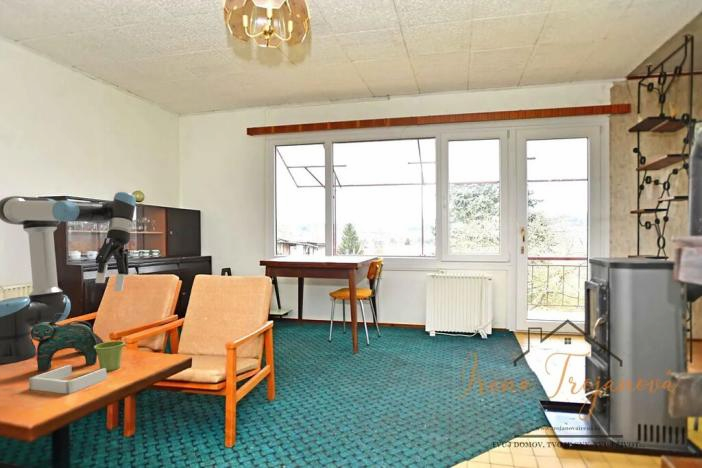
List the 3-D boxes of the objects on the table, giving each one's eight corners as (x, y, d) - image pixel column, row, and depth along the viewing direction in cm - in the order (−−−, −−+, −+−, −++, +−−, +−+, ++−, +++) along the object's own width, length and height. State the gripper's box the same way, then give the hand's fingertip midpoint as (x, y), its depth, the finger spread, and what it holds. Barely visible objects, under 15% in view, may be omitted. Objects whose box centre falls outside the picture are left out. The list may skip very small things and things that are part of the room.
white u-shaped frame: (29, 389, 130) (29, 378, 130) (69, 375, 143) (68, 364, 143) (69, 394, 126) (68, 382, 126) (106, 379, 138) (106, 368, 138)
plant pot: (101, 374, 143) (101, 349, 143) (90, 369, 148) (89, 345, 148) (129, 367, 150) (129, 343, 150) (117, 363, 156) (117, 339, 156)
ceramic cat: (30, 373, 146) (29, 316, 146) (36, 368, 152) (35, 313, 152) (96, 365, 153) (95, 311, 153) (99, 360, 159) (98, 308, 159)
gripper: (114, 219, 147) (103, 278, 139) (142, 242, 170) (134, 294, 163) (91, 219, 146) (79, 278, 139) (123, 242, 169) (114, 294, 162)
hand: (109, 287), depth 151 cm, fingers open, 13 cm apart
